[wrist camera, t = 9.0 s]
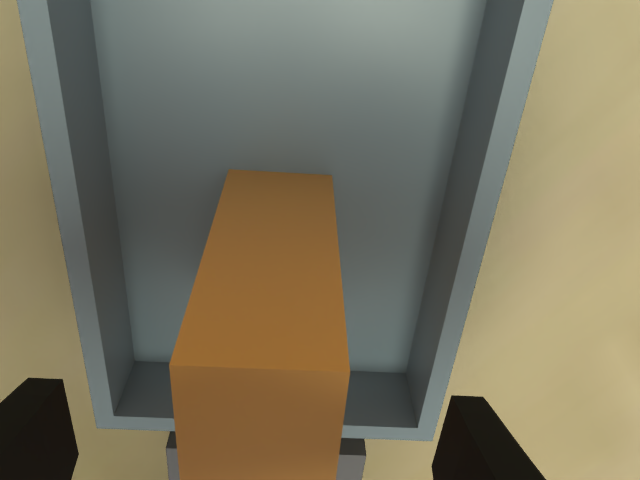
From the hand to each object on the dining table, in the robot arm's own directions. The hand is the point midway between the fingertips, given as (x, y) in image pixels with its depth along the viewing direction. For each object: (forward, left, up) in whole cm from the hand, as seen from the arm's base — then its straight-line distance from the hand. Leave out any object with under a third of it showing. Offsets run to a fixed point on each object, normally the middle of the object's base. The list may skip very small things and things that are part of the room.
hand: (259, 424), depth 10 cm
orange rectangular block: (0, 0, -8) cm, 8 cm away
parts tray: (0, +2, -8) cm, 8 cm away
